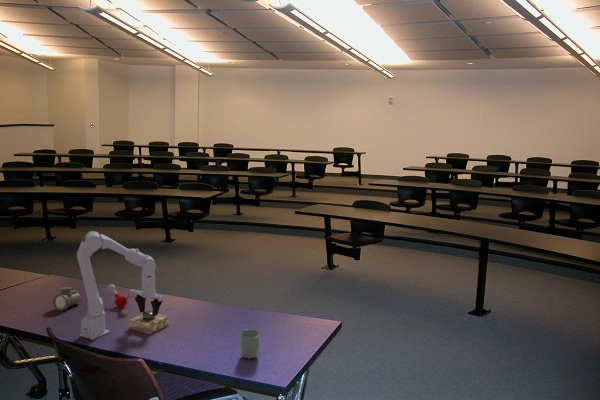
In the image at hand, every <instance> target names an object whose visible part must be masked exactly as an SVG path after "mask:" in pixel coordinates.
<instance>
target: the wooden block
mask: <svg viewBox="0 0 600 400" xmlns="http://www.w3.org/2000/svg"><path fill="white" fill-rule="evenodd" d="M169 318H170V317H169V315H165V314H161V313H158V315H156V316H155V319H153V320H150V321H146V320H143V313H140V314H139V315H137V316H135V317H133V318H130V319H128V324H129V325H128V329H130V330H134V331H137V332H141V333H144V334H146V335H147V334H148V335H151V334H154V333H156V332H157V331H159V330H162V329H164V328H165V327H167V326H169V325H170V322H169V321H170V320H169Z"/></svg>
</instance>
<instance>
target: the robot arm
mask: <svg viewBox="0 0 600 400" xmlns="http://www.w3.org/2000/svg"><path fill="white" fill-rule="evenodd" d="M100 248H101V250H105V249H106V250H107V249H109V250H111V251H114V252H116V253H118V254H120V255H122V256H124V257H125V261H127V262H129V263H131V264H133V265H135V266H137V267H140V268H141V290H139V289H137V290H135V296H134V301H135V302H136V303H137V306H138V309H139V312H140V314H143V312H145V311H146V301H147V300H146V299H151V300H152V301H150V304H151V308H152V311H153V316H156V315H158V314H159V310H160V307H161V305H162V303H163V300H164V296H163V295H161V294H159V293H157V291H156V273H155V272H156V269H157V265H156V262H155V260H154V258H153V257H152V256H151V255H148V254H144V253H143V252H141V251H140V249H138V248H133V247H132V248H127V247H125V246H124V245H123V244H121V243H119V242H117V241H116V240H113V239H112V238H110V237H109V236H107V235H104V234H103V233H99V232H98V231H95V230H90V231H88V232H87V233H86V234H85V235H84V236H83V237H82V239H81V242H80V245H79V247H78V250H77V252H76V258H77V262H78V265H79V269H80V273H81V278H82V281H83V285H84V289H85V293H86V297H87V301H86V303H87V312H86V315H85V316H84V317H83V318H82V319H81V321H80V334H79V336H80V337H83V338H86V339H89V340H96V339H97V338H99V337H102V336H104V335H106V334H109V333H111V330H109V329H106V311H105V306H104V300H103V297H101V296H100V294H99V290H98V287H97V283H96V282H97V281H96V278H95V275H94V271H93V267H92V264H91V260H90V257H91V256H92V255H93V253H95V252H96V251H98V250H99V249H100Z"/></svg>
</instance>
